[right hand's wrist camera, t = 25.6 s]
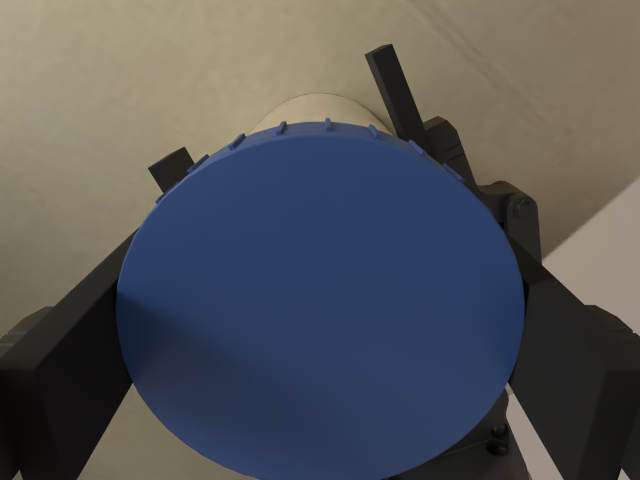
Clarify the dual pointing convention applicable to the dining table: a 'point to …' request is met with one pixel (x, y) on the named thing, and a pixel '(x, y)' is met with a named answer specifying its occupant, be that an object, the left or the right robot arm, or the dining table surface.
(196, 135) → the dining table surface
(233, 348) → the lid
